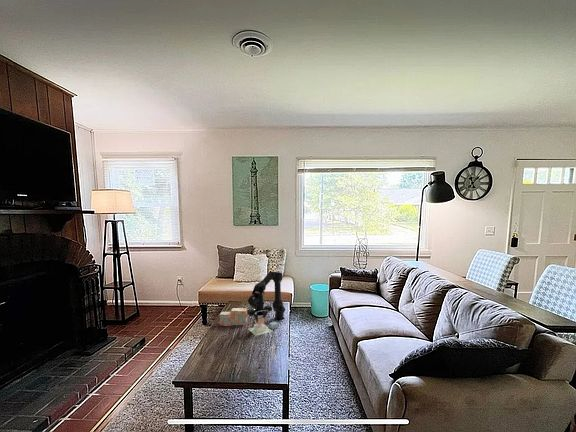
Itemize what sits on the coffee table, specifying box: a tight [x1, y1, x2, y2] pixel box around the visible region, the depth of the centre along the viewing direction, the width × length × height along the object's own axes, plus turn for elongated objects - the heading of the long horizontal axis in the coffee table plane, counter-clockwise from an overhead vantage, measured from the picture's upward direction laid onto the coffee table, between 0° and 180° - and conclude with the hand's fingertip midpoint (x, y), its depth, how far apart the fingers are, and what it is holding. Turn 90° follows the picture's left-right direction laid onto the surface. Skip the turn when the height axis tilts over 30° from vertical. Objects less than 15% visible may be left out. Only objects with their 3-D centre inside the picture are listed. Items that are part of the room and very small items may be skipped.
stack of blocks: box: [219, 307, 248, 327], centre depth 221 cm, size 21×6×12 cm, turn 87°
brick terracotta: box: [255, 315, 265, 325], centre depth 209 cm, size 5×5×4 cm
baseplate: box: [248, 325, 273, 337], centre depth 209 cm, size 14×14×1 cm
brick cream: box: [253, 323, 267, 333], centre depth 209 cm, size 7×7×4 cm
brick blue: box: [269, 321, 279, 330], centre depth 213 cm, size 5×5×4 cm
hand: (260, 321), depth 209 cm, fingers closed on brick terracotta, 5 cm apart
